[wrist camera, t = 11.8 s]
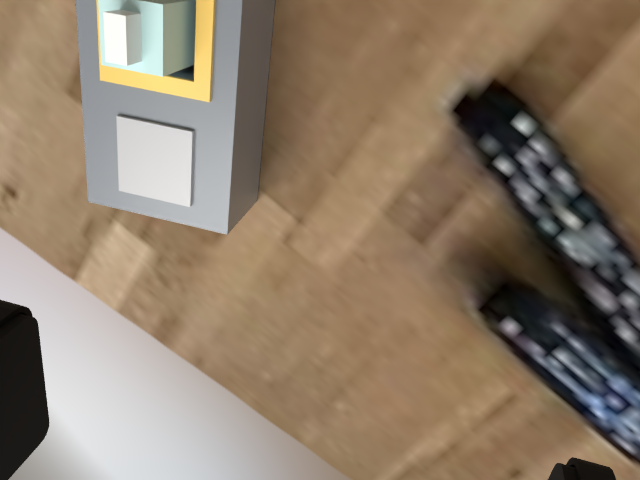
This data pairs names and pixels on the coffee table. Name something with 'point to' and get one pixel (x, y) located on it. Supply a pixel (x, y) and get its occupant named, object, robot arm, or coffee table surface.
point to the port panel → (180, 120)
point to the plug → (147, 35)
